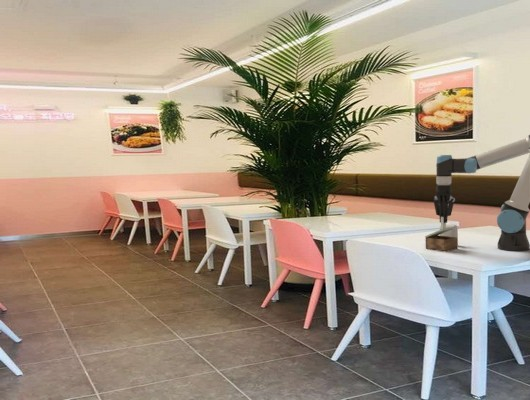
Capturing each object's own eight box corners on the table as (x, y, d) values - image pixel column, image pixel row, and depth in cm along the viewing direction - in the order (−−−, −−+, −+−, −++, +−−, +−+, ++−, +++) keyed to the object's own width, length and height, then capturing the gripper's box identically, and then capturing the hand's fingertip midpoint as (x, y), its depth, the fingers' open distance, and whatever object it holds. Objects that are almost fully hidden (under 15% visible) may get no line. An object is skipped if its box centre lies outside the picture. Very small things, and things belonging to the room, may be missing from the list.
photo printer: (438, 244, 283) (438, 222, 282) (444, 243, 285) (443, 221, 284) (453, 246, 274) (453, 224, 273) (459, 245, 276) (458, 223, 275)
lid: (455, 227, 268) (455, 226, 268) (443, 230, 261) (442, 228, 261) (437, 235, 277) (437, 233, 277) (425, 237, 270) (425, 236, 271)
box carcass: (457, 248, 268) (457, 237, 267) (445, 251, 261) (445, 240, 261) (438, 246, 277) (437, 235, 277) (425, 248, 271) (425, 237, 270)
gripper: (459, 184, 262) (458, 229, 265) (437, 183, 273) (437, 226, 275) (450, 185, 258) (449, 231, 260) (428, 184, 268) (428, 228, 271)
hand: (443, 228), depth 268 cm, fingers closed
